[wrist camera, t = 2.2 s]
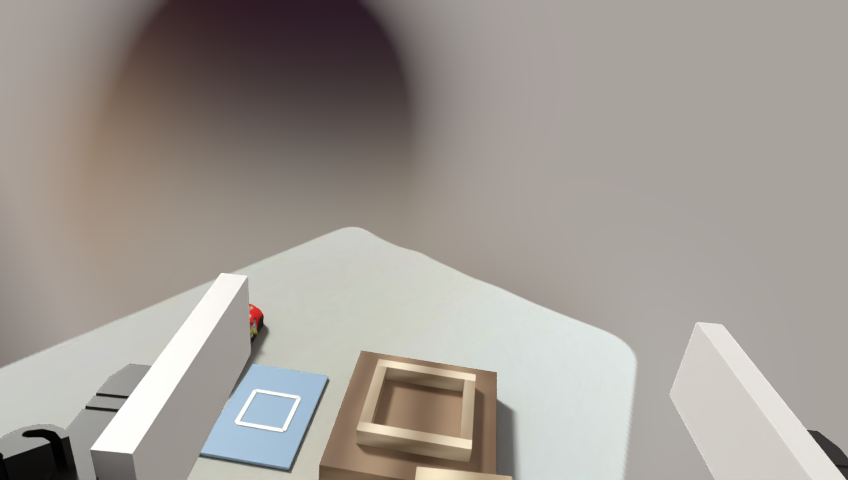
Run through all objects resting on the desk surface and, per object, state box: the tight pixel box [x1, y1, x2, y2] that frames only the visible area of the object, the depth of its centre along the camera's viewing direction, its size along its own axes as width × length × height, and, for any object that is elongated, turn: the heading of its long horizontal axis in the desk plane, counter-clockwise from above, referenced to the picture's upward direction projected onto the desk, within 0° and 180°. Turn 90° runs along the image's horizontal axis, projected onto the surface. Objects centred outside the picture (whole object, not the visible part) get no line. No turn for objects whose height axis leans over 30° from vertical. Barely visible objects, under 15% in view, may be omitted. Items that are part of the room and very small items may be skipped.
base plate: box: [319, 351, 497, 480], centre depth 51 cm, size 14×15×4 cm
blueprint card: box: [200, 364, 328, 470], centre depth 52 cm, size 8×12×1 cm, turn 173°
